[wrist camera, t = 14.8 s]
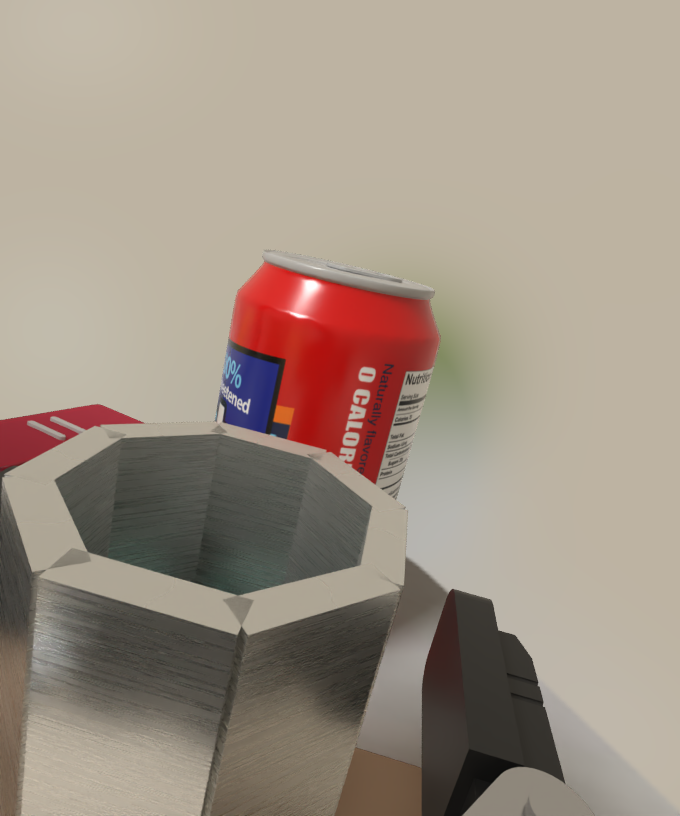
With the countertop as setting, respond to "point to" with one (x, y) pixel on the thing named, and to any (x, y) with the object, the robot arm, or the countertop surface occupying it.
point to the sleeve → (189, 622)
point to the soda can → (331, 361)
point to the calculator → (50, 431)
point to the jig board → (380, 787)
